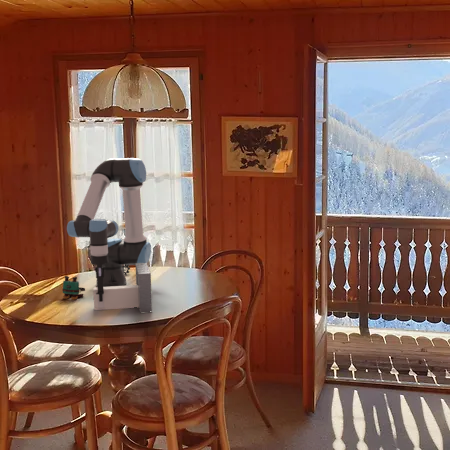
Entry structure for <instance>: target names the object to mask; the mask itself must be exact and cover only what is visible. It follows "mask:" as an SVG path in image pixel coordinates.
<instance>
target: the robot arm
mask: <svg viewBox="0 0 450 450" xmlns="http://www.w3.org/2000/svg"><path fill="white" fill-rule="evenodd" d="M146 180H147V170H146V166H145V164H144V162H143V160H142V159H141V158H134V157H130V158H129V157H127V158H120V157H119V158H109V159H106V160H104V161H103V162H101V163H100V164H98V166H97V167H96V168H95V169H94V170H93V172H92V174H91V177H90V184H89V187H88V189H87V191H86V194H85V197H84V199H83V201H82V203H81V206H80V208H79V211H78V214H77V215H76V218H75V219H73V220H69V221H68V223H67V225H66V231H67V235H68V236H69V237H71V238H89V245H90V247H88V250H90V264H91V265H94V266H95V265H96V267H95V268H94V269H95V270H94V271H95V278H96V282H95V283H96V284H95V285H96V286H97V287H98V292H97V293H96V294H98V309H103V308H104V291H103V287H110V286H126V284H127V278H126V277H125V276H126V275H124V274H125V273H124V272H125V271H124V272H123V269H122V265H123V266H124V265H129V266H136V263H147V264H148V263H149V261H150V259H151V258H150V257H151V253H152V245H151V242H149V241H147V237H146V236H145V235H144V228H143V214H142V211H143V210H142V199H141V197H142V196H141V188H142V187H143V185H144V182H146ZM112 183H118V186H119V188H120V189H121V190H122V199H123V211H124V213H123V214H124V225H125V226H124V228H125V237H124V238H123V239H122V238H117V237H116V238H112V237H114V236H115V235H117V234H118V232H119V224H118V223H117V222H116V221H115V220H113V219H107V220H106V219H105V218H96V214H97V213H98V209H99V207H100V204H101V202H102V199H103V196H104V194H105V191H106V189H107V188H109V186H110V185H111V184H112ZM122 240H123V241H122Z"/></svg>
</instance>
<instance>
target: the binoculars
mask: <svg viewBox="0 0 450 450" xmlns="http://www.w3.org/2000/svg"><path fill="white" fill-rule="evenodd" d="M71 278H72V281H71V280H70V276H68V275H64V280H63V281H62V294H63V297H62V298H63V300H64V299H66V300H67V299H70V298H71V300H73V301H74V300H77V299H78V298H81V297H84V293H81V292H85V291H86V288H85V287H80V282H79V281H77V279H78V276H75V277H71Z"/></svg>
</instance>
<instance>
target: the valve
mask: <svg viewBox="0 0 450 450" xmlns="http://www.w3.org/2000/svg"><path fill="white" fill-rule="evenodd" d="M122 269H123V272H124V275H125V276H127V274H130V271H129V270H131V267H130V265H122Z"/></svg>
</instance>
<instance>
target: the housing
mask: <svg viewBox="0 0 450 450" xmlns="http://www.w3.org/2000/svg"><path fill="white" fill-rule="evenodd" d="M151 274H152V273H151V271H150V269H149V266H148V263H136V265H135V285H138V297H139V307H138V310H139V314H142V313H141V312H148V313H151V312H150V311H152V312H153V301H152V275H151Z"/></svg>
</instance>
